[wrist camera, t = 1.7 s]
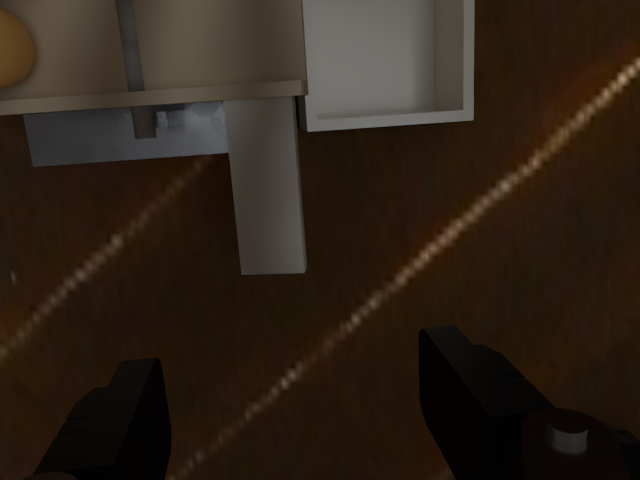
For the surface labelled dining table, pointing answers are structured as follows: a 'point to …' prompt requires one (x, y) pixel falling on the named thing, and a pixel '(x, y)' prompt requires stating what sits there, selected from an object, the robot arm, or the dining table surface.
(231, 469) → the dining table surface
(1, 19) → the ball
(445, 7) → the open grey tray box
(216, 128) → the stand
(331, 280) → the dining table surface
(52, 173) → the dining table surface
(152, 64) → the chute
